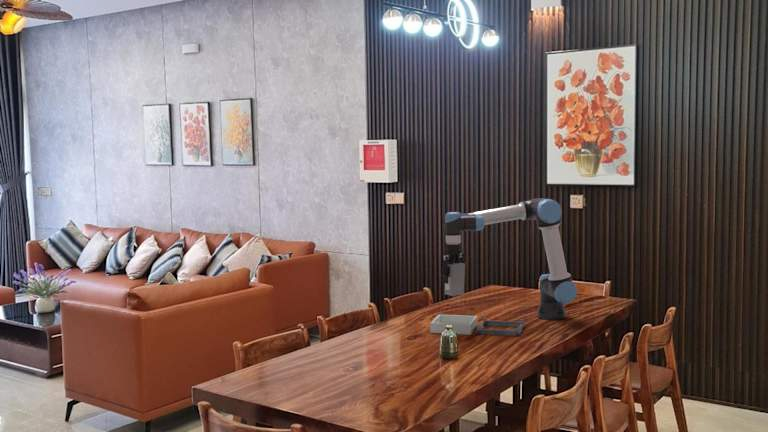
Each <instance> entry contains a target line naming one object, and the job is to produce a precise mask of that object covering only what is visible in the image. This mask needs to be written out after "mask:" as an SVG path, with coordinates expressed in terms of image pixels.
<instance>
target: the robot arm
mask: <svg viewBox="0 0 768 432" xmlns="http://www.w3.org/2000/svg"><path fill="white" fill-rule="evenodd" d="M562 211H563V210H562V207H561V205H560V204H559V203H558V201H556V200H554V199H551V198H541V197H537V198H533V199H529V200H526V201H519V203H518V204H515V205H514V204H512V205H508V206H503V207H502V206H501V207H497V208H490V209H485V210H479V211H474V212H468V213H465V212H464V213H460V212H459V211H450V212H446V213H445V221H444V222H445V223H444V225H445V229H444V230H445V252H446V255H442V256H441V257H442V265H441V274H440V276H441V277H444V291H445V290H450V277H449V274H450V267H449V266H448V264H450V265H451V264H453V263H454V262H455V263H463V264H465V265H466V263H465V253H461V251H462V244H461V243H462V234H461V232H469V231H470V232H473V231H474V232H475V231H476V232H479V231H483V230H484V228H485V226H486V225H492V224H497V223H502V222H503V223H504V222H509V221H515V220H521V221H527V220H528V221H529V220H533V221H536V225H537V226H536V227H537V228H538V229H539V230H541V235H542V240H543V245H544V249H545V254H546V259H547V265H548V270H549V273H546V274H544V273H543V274H541V275H540V276H539V278H540V279H539V294H540V295H539V299H540V301H539V306H538V307H537V311H536V317H537V318H538V319H542V320H553V321H554V320H563V318H564V319H566V318H567V312H566V309H565V305H564V304H569V303H571V302H573V301H574V300H575V299H576V298H577V295H578V288H577V285H576V284H575V283H574V282H573V278H572V274H571V273H569V272H568V271H567V270H568V269H567V264H566V260H565V253H564V249H563V244H562V239H561V233H560V229H559V227H560V225H561V216H562V215H563V214H562V213H563V212H562ZM465 273H467V272H466V269H465Z"/></svg>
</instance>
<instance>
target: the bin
mask: <svg viewBox="0 0 768 432" xmlns="http://www.w3.org/2000/svg"><path fill="white" fill-rule="evenodd" d="M429 324H430V325H429V326H430V327H429V329H430V332H429V333H431V334H442V332H443V330H444V329H445V326H446V325H452V327H453V329H454V331H455V332H456V333H457V334H456V335H466V336H470V335H472V334H473V333H474V331H475V330H476V329H477V326H478V325H479V324H478V315H460V314H458V315H457V314H438V315H437V316H435V317H434V318H433V320H432V321H431V322H430V323H429Z"/></svg>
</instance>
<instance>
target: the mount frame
mask: <svg viewBox="0 0 768 432" xmlns="http://www.w3.org/2000/svg"><path fill="white" fill-rule="evenodd" d="M488 326H491V327H505V328H506V327H508V328H509V327H510V328H511V327H512V328H515V330H513V329H495V328H491V329H490V328H485V327H488ZM523 328H525V318H520V321H514V320H513V321H510V320H509V321H507V320H488V319H487V316H483V317H482V322H481V324H480V325H479V324H478V326H477V327H476V335H487V336H488V335H489V336H506V337H507V336H511V337H521V333H522V331H523Z"/></svg>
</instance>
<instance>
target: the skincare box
mask: <svg viewBox="0 0 768 432" xmlns="http://www.w3.org/2000/svg"><path fill="white" fill-rule="evenodd" d="M448 266H449V267H450V274H449V277H450V290H445V289H444V295H448V296H451V297H455V296H461V295H465V276H466V275H465V274H466V272H465V270H466V263H465V264H463V263H455V262H454V263H453V264H451V265H450V264H448Z"/></svg>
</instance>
